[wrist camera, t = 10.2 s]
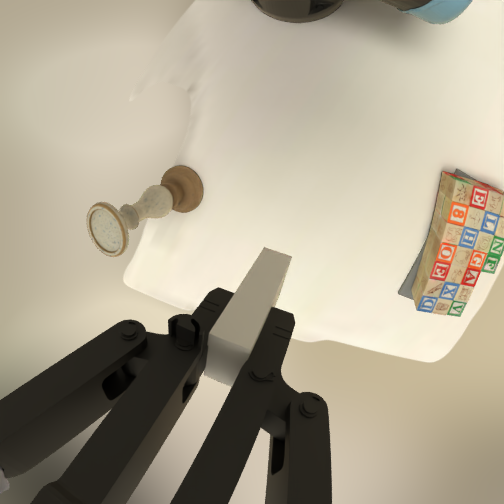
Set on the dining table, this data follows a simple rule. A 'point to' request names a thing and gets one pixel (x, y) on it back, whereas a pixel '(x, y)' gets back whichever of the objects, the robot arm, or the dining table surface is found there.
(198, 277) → the dining table surface
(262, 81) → the dining table surface
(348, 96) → the dining table surface
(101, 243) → the candle holder
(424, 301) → the stack of blocks
